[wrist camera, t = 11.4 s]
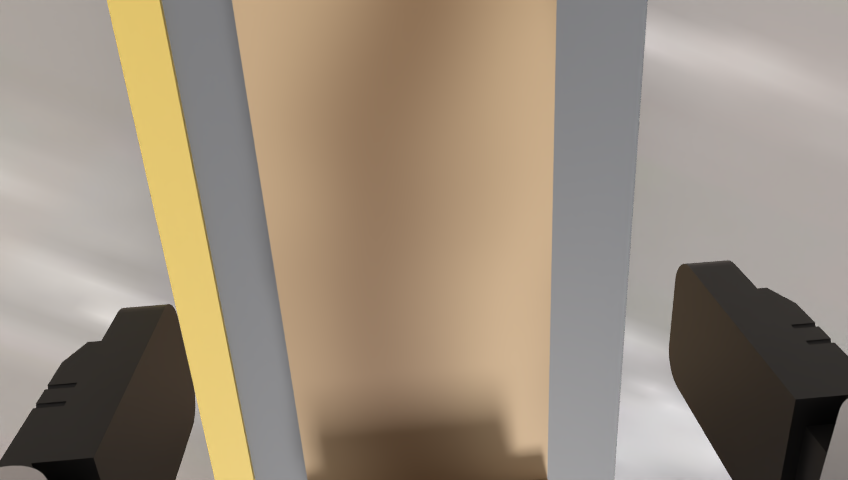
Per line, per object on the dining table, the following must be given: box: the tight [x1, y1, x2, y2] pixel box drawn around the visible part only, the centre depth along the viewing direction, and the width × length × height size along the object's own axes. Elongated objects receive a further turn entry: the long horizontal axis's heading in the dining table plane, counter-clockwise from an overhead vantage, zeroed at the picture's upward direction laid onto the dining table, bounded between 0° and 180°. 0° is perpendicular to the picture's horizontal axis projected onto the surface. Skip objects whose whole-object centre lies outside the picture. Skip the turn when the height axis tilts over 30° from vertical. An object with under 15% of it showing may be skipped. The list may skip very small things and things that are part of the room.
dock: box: [107, 0, 648, 480], centre depth 22 cm, size 13×33×3 cm, turn 3°
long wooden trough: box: [232, 0, 557, 480], centre depth 18 cm, size 6×30×6 cm, turn 3°
